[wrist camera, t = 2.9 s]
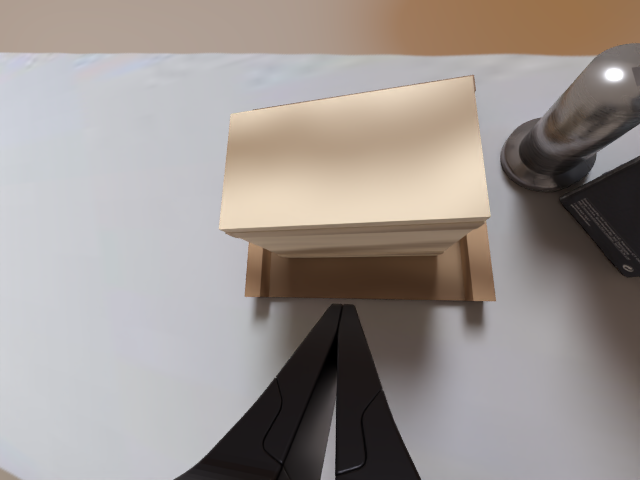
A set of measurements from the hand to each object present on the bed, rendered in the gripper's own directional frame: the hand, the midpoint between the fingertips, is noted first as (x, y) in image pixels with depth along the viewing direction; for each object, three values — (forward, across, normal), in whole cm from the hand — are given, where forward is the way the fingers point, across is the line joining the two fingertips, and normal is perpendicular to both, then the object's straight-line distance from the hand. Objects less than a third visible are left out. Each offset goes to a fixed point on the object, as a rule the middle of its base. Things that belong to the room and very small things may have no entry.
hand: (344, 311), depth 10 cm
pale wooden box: (+12, 0, +2) cm, 12 cm away
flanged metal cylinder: (+15, -14, -1) cm, 20 cm away
